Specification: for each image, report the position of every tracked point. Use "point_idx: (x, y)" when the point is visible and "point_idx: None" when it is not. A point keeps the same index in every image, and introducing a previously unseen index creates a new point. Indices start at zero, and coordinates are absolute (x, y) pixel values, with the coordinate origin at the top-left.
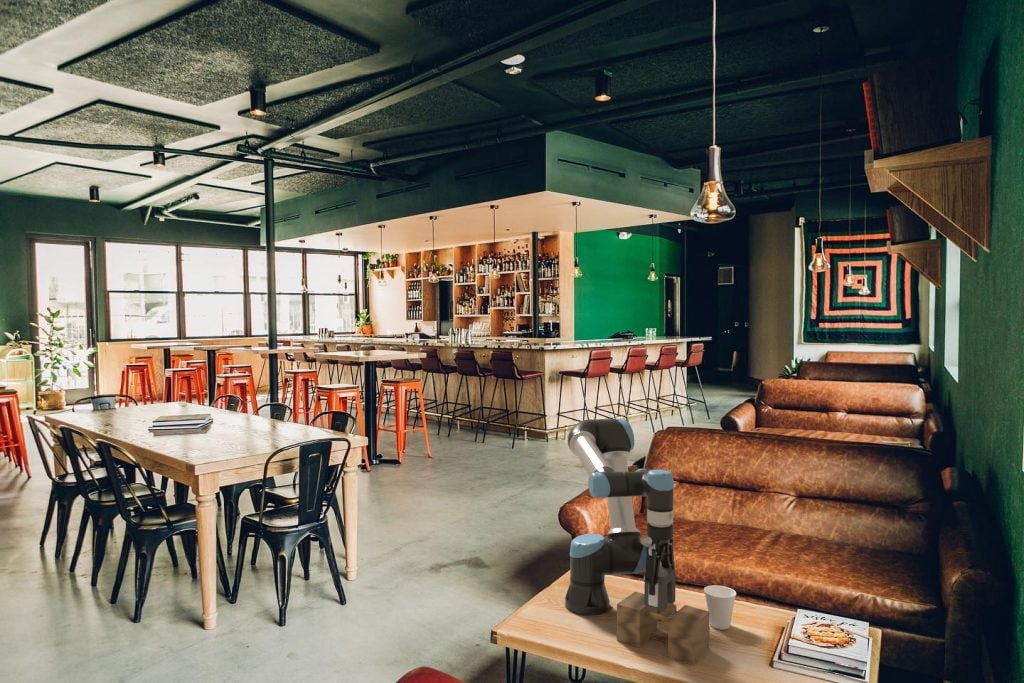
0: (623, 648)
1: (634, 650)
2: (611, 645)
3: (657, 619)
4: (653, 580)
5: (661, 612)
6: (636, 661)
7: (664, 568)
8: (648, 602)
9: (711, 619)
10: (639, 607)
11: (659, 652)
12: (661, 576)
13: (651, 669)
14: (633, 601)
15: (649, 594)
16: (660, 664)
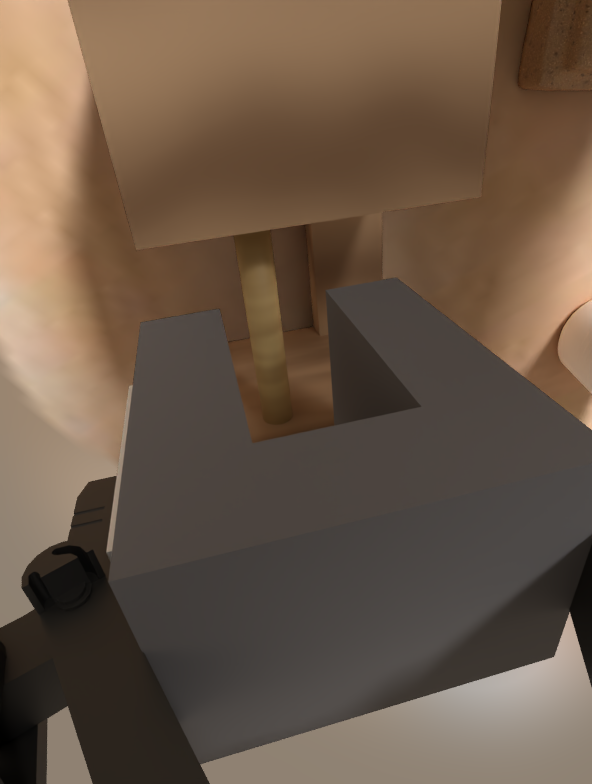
0: (57, 122)
1: (98, 191)
2: (12, 24)
3: (524, 64)
4: (18, 747)
5: (575, 74)
6: (11, 274)
7: (534, 585)
8: (128, 396)
9: (585, 334)
10: (188, 209)
11: (192, 297)
12: (210, 739)
13: (22, 367)
14: (261, 70)
15: (87, 488)
16: (99, 365)
